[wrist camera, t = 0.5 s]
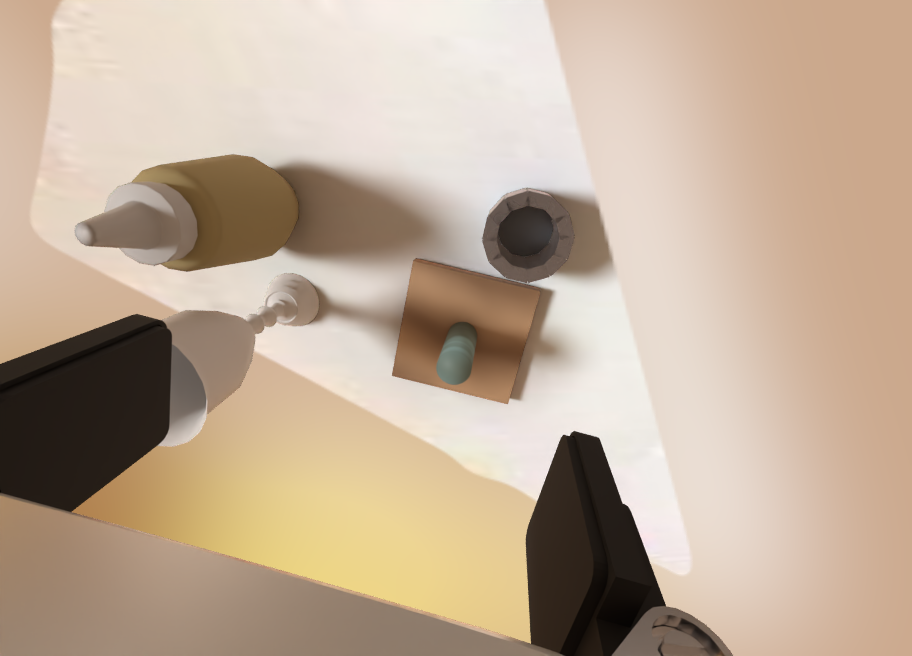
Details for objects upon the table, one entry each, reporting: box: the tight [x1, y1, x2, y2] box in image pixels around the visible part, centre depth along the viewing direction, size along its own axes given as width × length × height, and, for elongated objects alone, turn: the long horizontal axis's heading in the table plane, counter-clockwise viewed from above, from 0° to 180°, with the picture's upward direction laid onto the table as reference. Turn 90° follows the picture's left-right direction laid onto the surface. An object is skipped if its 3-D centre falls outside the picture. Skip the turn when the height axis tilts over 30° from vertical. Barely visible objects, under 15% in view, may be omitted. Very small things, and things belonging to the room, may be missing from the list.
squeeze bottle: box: [75, 154, 299, 272], centre depth 31 cm, size 8×8×18 cm
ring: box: [482, 188, 574, 283], centre depth 35 cm, size 6×6×5 cm
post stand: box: [392, 259, 541, 404], centre depth 37 cm, size 11×11×8 cm
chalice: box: [157, 273, 319, 446], centre depth 33 cm, size 7×7×18 cm
